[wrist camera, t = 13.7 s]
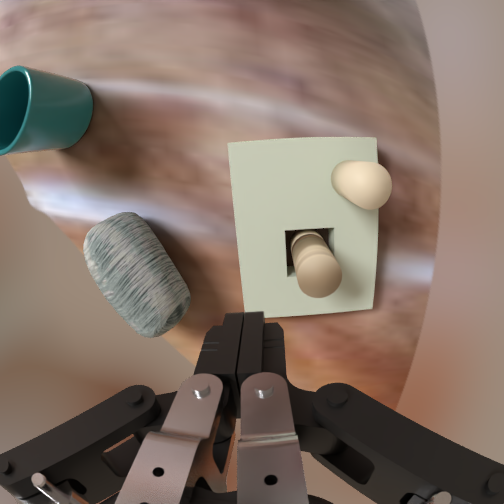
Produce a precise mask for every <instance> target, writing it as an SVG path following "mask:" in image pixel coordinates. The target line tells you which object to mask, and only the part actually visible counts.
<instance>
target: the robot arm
mask: <svg viewBox="0 0 504 504" xmlns="http://www.w3.org/2000/svg"><path fill="white" fill-rule="evenodd" d="M203 343H204V344H203V345H202V348H201V352H200V355H199V358H198V361H197V365H196V368H195V371H194V375H193V376H191V377H189V378H187V379H186V380H185V381H183V383H182V384H181V386H180V388H179V390H178V391H175V392H172V393H166V394H161V395H155V393H154V391H153V390H152V389H151V388H149V387H147V386H144V385H134V386H131V387H128V388H126V389H124V390H122V391H121V392H119V393H117V394H115V395H114V396H112V397H110V398H109V399H107V400H105V401H103V402H101V403H100V404H98V405H96V406H94V407H92V408H91V409H89V410H87V411H85V412H83V413H81V414H80V415H78V416H76V417H74V418H72V419H70V420H69V421H67V422H65V423H63V424H61V425H59V426H57V427H55V428H53V429H51V430H50V431H48V432H46V433H44V434H42V435H40V436H38V437H36V438H34V439H32V440H30V441H28V442H26V443H24V444H21V445H20V446H17V447H15V448H13V449H11V450H9V451H7V452H5V453H2V454H1V455H0V485H1V486H2V487H3V488H4V489H6V490H7V491H8V492H9V493H11V495H12V496H13V497H14V498H15V500H16V502H17V504H96V503H98V502H100V501H102V500H104V499H106V498H107V497H109V496H111V495H113V494H114V493H116V492H118V491H119V490H121V491H120V492H118V493H116V494H114V495H113V496H111V497H110V498H108V499H107V500H105V501H103V502H101V503H100V504H333V503H331V502H329V501H327V500H325V499H322V498H319V497H316V496H313V495H308V494H307V488H306V482H305V476H304V470H303V464H302V458H301V452H300V451H305V452H310V453H311V455H312V456H313V457H314V458H315V459H316V460H317V461H319V462H320V463H321V464H322V465H324V466H325V467H326V468H328V469H329V470H330V471H332V472H333V473H334V474H336V475H337V476H338V477H340V478H341V479H343V480H344V481H345V482H347V483H348V484H349V485H351V486H352V487H353V488H355V489H356V490H358V491H359V492H361V493H362V494H364V495H365V496H366V497H368V498H370V499H371V500H373V501H374V502H376V503H377V504H504V465H503V464H500V463H498V462H495V461H493V460H491V459H489V458H487V457H484V456H482V455H480V454H478V453H476V452H473V451H471V450H469V449H467V448H465V447H463V446H461V445H459V444H457V443H454V442H453V441H451V440H449V439H447V438H445V437H443V436H441V435H439V434H437V433H435V432H433V431H431V430H429V429H427V428H425V427H423V426H421V425H419V424H418V423H416V422H414V421H412V420H410V419H408V418H406V417H405V416H403V415H401V414H399V413H397V412H396V411H394V410H392V409H390V408H388V407H387V406H385V405H383V404H381V403H380V402H378V401H376V400H374V399H373V398H371V397H369V396H368V395H366V394H364V393H362V392H361V391H359V390H357V389H356V388H354V387H352V386H350V385H348V384H344V383H331V384H327V385H325V386H322V387H321V388H319V389H318V390H317V391H316V392H312V391H306V390H302V389H299V388H297V387H295V386H293V385H292V384H291V383H290V382H289V380H288V379H287V375H286V361H285V346H284V332H283V329H282V327H281V326H280V325H279V324H278V323H265V318H264V311H256V312H245V313H244V312H240V313H226V314H225V318H224V322H223V326H213V327H212V328H211V329H210V330H209V331H208V332H207V333H206V336H205V339H204V342H203ZM236 418H241V439H240V440H238V446H237V450H238V451H237V491H232V492H227V485H226V478H227V473H228V468H229V464H230V459H231V454H232V450H233V446H234V441H235V424H236ZM131 434H134V437H132V438H131V439H129V440H127V441H126V442H124V443H122V444H121V445H119V446H118V447H116V448H114V449H113V450H111V451H109V452H104V451H105V450H106V449H108V448H110V447H111V446H113V445H114V444H116V443H118V442H120V441H121V440H123V439H125V438H126V437H128V436H130V435H131Z"/></svg>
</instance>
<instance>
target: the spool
mask: <svg viewBox="0 0 504 504" xmlns="http://www.w3.org/2000/svg"><path fill="white" fill-rule="evenodd" d="M83 246H84V249H83V252H84V256H85V261H86V263H87V266H88V269H89V271H90V273H91V276H92V277H93V279H94V280H95V282H96V284H97V286H98V287H99V289H100V290H101V292H102V294H103V295H104V296H105V298H106V299H107V300H108V302H109V303H110V304H111V305H112V306H113V308H114V309H115V310H116V311H117V313H118V314H119V315H120V316H121V317H122V318H123V319H124V320H125V321H126V322H127V323H128V324H129V325H130V326H131V327H132V328H133V329H134V330H135V331H136V332H137V333H138V334H140V335H142V336H144V337H149V338H152V337H158V336H161V335H162V334H164V333H166V332H167V331H169V330H170V329H172V328H173V327H174V326H175V325H176V324H177V323H178V322H179V321H180V320H181V319H182V317H183V316H184V315H185V313H186V312H187V310H188V308H189V306H190V301H191V296H190V292H189V289H188V287H187V284H186V283H185V282H184V280H183V278H182V277H181V275H180V273H179V272H178V270H177V269H176V267H175V265H174V264H173V262H172V261H171V259H170V258H169V256H168V254H167V253H166V251H165V249H164V247H163V246H162V245H161V243H160V242H159V240H158V238H157V237H156V236H155V234H154V233H153V231H152V230H151V228H150V227H149V225H148V224H147V223H146V222H145V221H144V220H143V219H142V218H141V217H140V216H138V215H137V214H136V213H132V212H123V213H119V214H116V215H114V216H112V217H109V218H107V219H106V220H104V221H102V222H100V223H99V224H97V225H96V226H94V227H93V228H92V229H91V230H90V231H89V232H88V233H87V235H86V238H85V241H84V245H83Z"/></svg>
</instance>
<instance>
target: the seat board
mask: <svg viewBox="0 0 504 504" xmlns="http://www.w3.org/2000/svg"><path fill="white" fill-rule="evenodd" d="M228 153H229V164H230V174H231V185H232V195H233V205H234V215H235V225H236V234H237V244H238V253H239V263H240V272H241V281H242V290H243V299H244V308H245V312H256V311H264V318H269V317H286V316H301V315H314V314H325V313H336V312H347V311H356V310H365V309H372V307H373V298H374V288H375V276H376V262H377V245H378V210H379V207H381V206H382V205H384V204H385V203H386V202H387V200H388V199H389V197H390V194H391V191H392V182H391V178H390V175H389V173H388V172H387V170H386V169H385V168H384V167H383V166H381V165H380V164H378V158H377V140H376V138H370V137H309V138H285V139H269V140H256V141H244V142H234V143H228ZM317 228H328V239H329V249H330V251H331V253H332V254H333V256H334V257H335V259H336V261H337V262H338V264H339V266H340V268H341V270H342V280H341V283H340V285H339V287H338V289H337V290H336V291H335V292H334V293H332V294H331V295H329V296H327V297H323V298H313V297H310V296H308V295H306V294H304V293H303V292H302V290H301V289H300V287H299V285H298V281H297V277H296V272H295V267H294V266H287V263H286V243H285V230H300V229H317Z"/></svg>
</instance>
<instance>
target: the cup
mask: <svg viewBox="0 0 504 504" xmlns="http://www.w3.org/2000/svg"><path fill="white" fill-rule="evenodd" d="M92 112H93V99H92V95H91V92H90V90H89V88H88V87H87V86H86V85H85V84H84V83H83V82H81V81H79V80H76V79H72V78H69V77H65V76H62V75H58V74H54V73H50V72H46V71H42V70H38V69H34V68H29V67H25V66H14V67H12V68H10V69H8V70H7V71H5V72H4V73H3V74H2V75H1V76H0V156H2V155H10V154H18V153H27V152H38V151H50V150H62V149H66V148H69V147H71V146H73V145H74V144H75V143H76V142H78V141H79V140H80V138H81V137H82V136H83V135H84V133H85V132H86V130H87V128H88V126H89V123H90V120H91V117H92Z"/></svg>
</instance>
